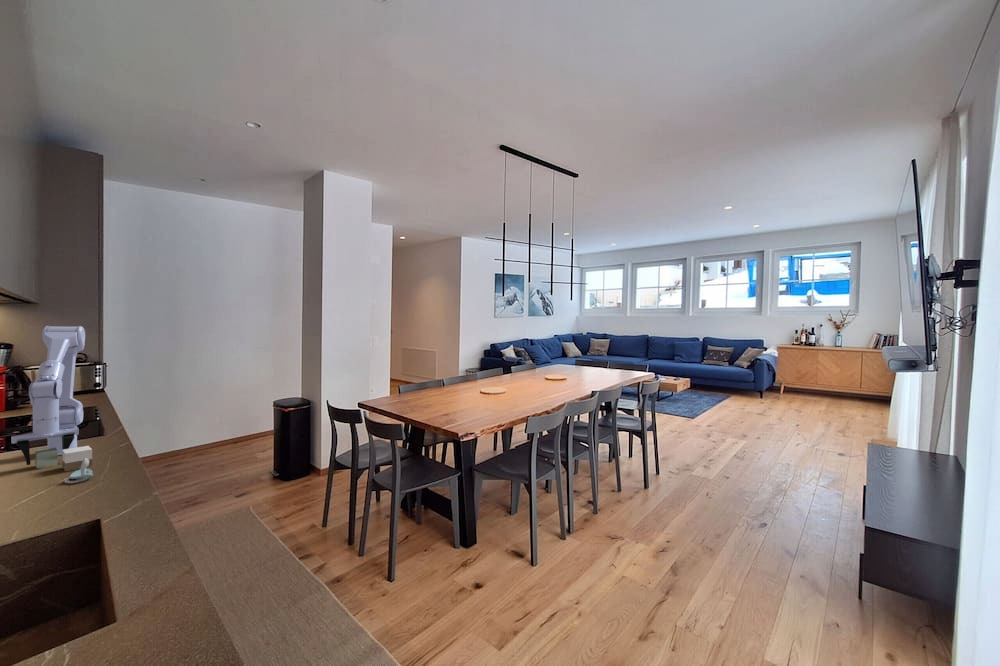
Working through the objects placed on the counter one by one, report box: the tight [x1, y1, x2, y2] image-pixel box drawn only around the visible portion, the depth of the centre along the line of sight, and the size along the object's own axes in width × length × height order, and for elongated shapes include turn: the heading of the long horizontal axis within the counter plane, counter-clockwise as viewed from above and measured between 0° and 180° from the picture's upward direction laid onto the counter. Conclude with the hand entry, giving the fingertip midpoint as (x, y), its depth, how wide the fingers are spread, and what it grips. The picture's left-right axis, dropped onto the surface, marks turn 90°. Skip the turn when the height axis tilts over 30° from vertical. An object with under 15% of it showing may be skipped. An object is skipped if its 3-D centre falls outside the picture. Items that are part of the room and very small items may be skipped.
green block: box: [34, 447, 59, 469], centre depth 135 cm, size 4×4×5 cm
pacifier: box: [63, 458, 94, 485], centre depth 124 cm, size 7×6×6 cm
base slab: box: [61, 458, 93, 472], centre depth 134 cm, size 6×6×3 cm
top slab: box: [61, 445, 93, 463], centre depth 134 cm, size 6×6×3 cm
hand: (46, 461), depth 135 cm, fingers open, 7 cm apart
